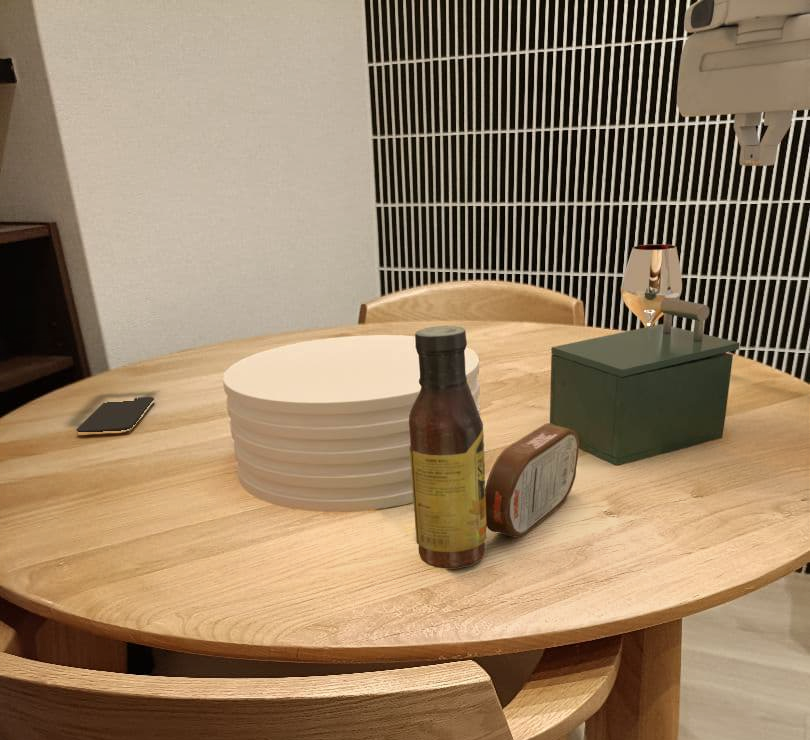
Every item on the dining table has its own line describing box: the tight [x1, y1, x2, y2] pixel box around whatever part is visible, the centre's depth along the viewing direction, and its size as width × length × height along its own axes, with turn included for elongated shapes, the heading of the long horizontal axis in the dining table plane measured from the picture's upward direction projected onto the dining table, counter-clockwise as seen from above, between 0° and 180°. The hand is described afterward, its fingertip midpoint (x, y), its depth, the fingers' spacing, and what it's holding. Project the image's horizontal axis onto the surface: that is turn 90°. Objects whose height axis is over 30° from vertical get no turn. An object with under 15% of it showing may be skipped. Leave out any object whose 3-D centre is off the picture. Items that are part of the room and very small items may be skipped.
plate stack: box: [222, 334, 481, 513], centre depth 93 cm, size 28×28×12 cm
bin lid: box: [550, 298, 740, 377], centre depth 92 cm, size 16×13×5 cm
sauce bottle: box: [409, 325, 488, 570], centre depth 69 cm, size 6×6×20 cm
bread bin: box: [549, 352, 734, 466], centre depth 96 cm, size 16×13×10 cm
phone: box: [75, 396, 155, 432], centre depth 115 cm, size 7×1×15 cm
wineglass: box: [620, 243, 683, 328], centre depth 116 cm, size 8×8×18 cm
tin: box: [485, 422, 580, 538], centre depth 77 cm, size 15×3×8 cm, turn 144°
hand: (756, 165), depth 81 cm, fingers closed
